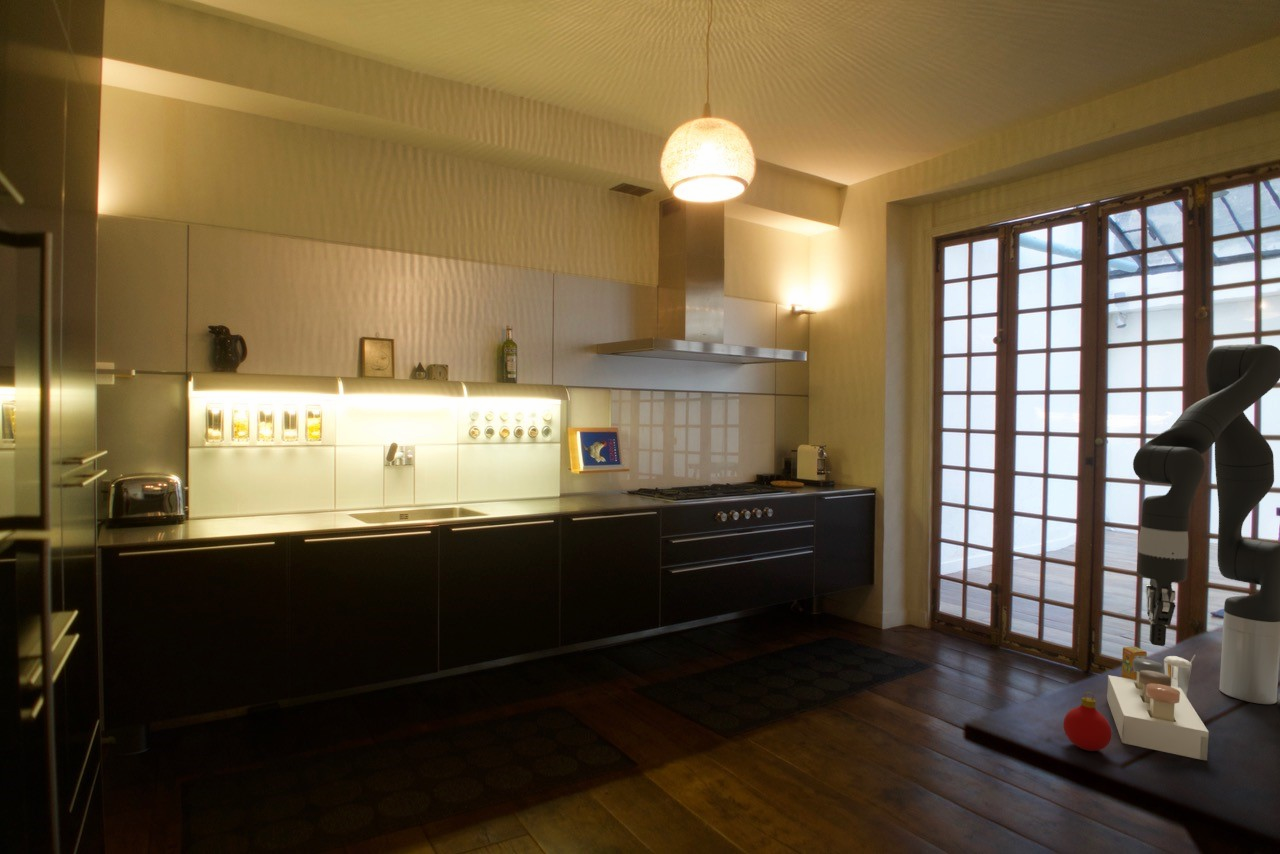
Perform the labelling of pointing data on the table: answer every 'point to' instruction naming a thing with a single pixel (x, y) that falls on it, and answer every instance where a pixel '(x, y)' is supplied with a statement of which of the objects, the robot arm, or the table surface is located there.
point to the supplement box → (1131, 661)
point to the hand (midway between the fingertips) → (1157, 644)
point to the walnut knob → (1152, 681)
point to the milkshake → (1178, 671)
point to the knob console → (1156, 722)
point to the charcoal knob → (1145, 668)
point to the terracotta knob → (1162, 701)
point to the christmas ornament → (1087, 726)
